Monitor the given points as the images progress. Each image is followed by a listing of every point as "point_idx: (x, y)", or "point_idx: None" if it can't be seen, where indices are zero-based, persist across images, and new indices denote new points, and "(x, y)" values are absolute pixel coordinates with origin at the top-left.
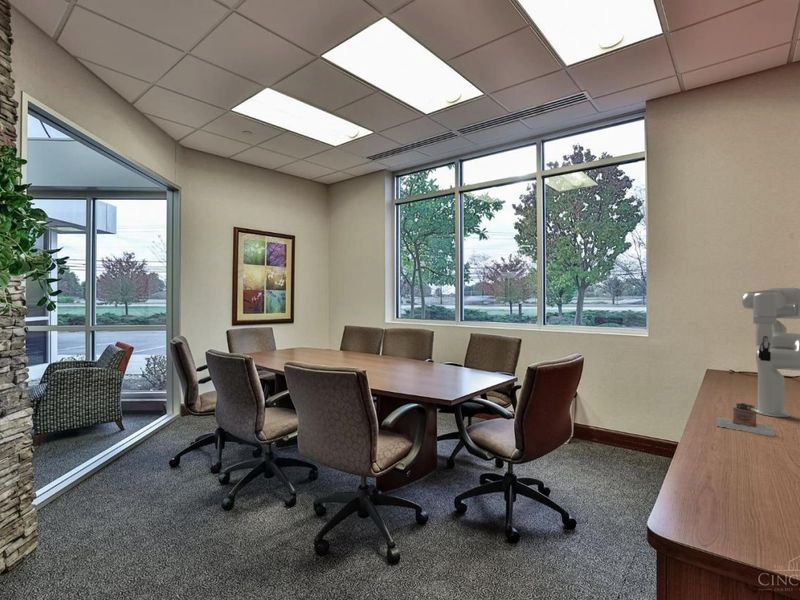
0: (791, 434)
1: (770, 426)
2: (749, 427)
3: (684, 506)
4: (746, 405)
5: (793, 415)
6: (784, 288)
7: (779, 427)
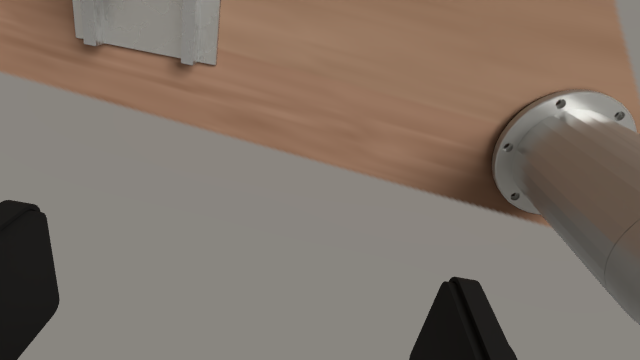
0: (171, 114)
1: (181, 54)
2: None
3: None
4: None
5: None
6: None
7: (277, 106)
